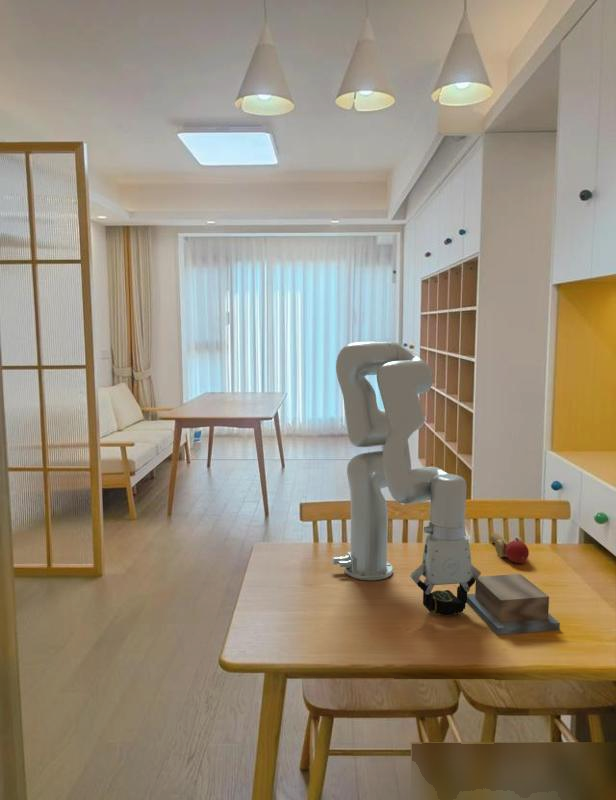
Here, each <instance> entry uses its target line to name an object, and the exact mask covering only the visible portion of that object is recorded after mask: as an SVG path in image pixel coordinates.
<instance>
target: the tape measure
mask: <svg viewBox="0 0 616 800" xmlns="http://www.w3.org/2000/svg"><path fill="white" fill-rule="evenodd" d="M431 593H432V594H433V610H432V611H431V612H433V613H435V614H438V615H440V616H446V617H447V616H454V615H456V614H461V613H463V611H464V604H463V603H462V601H461V600H459V599H458V598H457V595H455V594H454V593H453V592H452V591H451V590H449V589H446V590H435V591H431Z"/></svg>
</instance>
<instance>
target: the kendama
mask: <svg viewBox="0 0 616 800" xmlns="http://www.w3.org/2000/svg"><path fill="white" fill-rule="evenodd" d="M489 541H490V542H491V543H493V544H494V548H495V551H496V554H497V555H498V557H499V558H507V559H508V560H509V561H510V562H512V563H513V564H514V563H515V564H522V563H524V562H525V561H527V560H528V558H529V556H530V555H529V554H530V553H529V552H530V551H529V548H528V546H527V545H526V543H524V540H523V539H522V537H515V538H514V539H513V540H511V541H509V542H508V541H507V540H506V539H505V538H504V537H503V536H501V535H500V534H498V533H495V532H494V533H491V535H490V538H489Z"/></svg>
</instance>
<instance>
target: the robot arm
mask: <svg viewBox="0 0 616 800" xmlns="http://www.w3.org/2000/svg"><path fill="white" fill-rule="evenodd" d="M335 370H336V371H335V372H336V376H337V377H336V378H337V381H338V385H339V387H340V390H341V393H342V398H343V399H342V400H343V406H344V414H345V422H346V427H347V429H346V430H347V435H348V439H349V441H350V443H351V445H353V446H354V447H356V448H370V447H371V448H372V447H378V446H379V447H380V446H381V449H382V450H376V451H370V452H363V453H362V452H361V453H360V454H357V455H355V456H354V457H352V458H351V459H349V462H348V464H347V468H346V475H347V479H348V480H347V481H348V486H349V487H348V488H349V492H350V493H349V494H350V551H347V554H346V555H343V556H333V557H332V565H333V566H334V565H335V566H336V565H338V566H339V568H344V572H345V574H346V575H348V576H349V577H351V578H354V579H357V580H361V581H379V580H380V581H381V580H384V579H387V578H389V577H390V576H391V575H392V574H393V572H394V569H393V565H392V564H390V563H389V562H388V511H389V510H388V509H389V508H388V503H387V501H386V499H385V496H384V495H383V493H382V491H381V490H382V489H383V488H388V491H389V493H390V495H391V497H392V498H393V500H395V501H396V502H397V503H398V504H400V505H411V504H415V503H421V502H425V501H426V502H428V501H430V502H429V503H430V505H429V506H430V509H429V511H430V513H429V522H428V525H427V526H423V533H425V534H427V535H426V538H425V543H424V545H423V546H424V547H423V553H422V560H421V561H422V563H421V565H420V566H419V567H417V568H416V569H415V570H414V571H413V572H411V574H410V575H409V576H410V578H411V580H412V581H414V583H415V584H416V585H417V586H418V588H420V590H422V604H423V606H424V607H425V608H426V609H427V611H428V612H429V613H430V612H433V611H432V610H433V594H432V592H433V591H432V590H433V589H434V587H435V586H438V585H440V586H441V585H442V586H443V585H454V584H455V585H457V584H459V585H457V587H456V597H457V598H458V599H459V600H461V601H462V603H463V604H464V609H466V604H468V603H467V594H468V592H469V591H470V590H471V589H470V588H471V587H472V586H473V585H474V584H476V580H477V578H478V577H481V574H482V572H481V571H480V569H478V568H477V567H475V566H474V565H473V564H472V555H471V554H472V553H471V546H470V541H469V537H468V536H467V535H466V534H465V532H466V507H467V506H466V505H467V504H466V501H467V499H466V498H467V482H466V479H465V478H464V477H463V476H461V475H458V474H454V473H449V472H447V471H445V470H443V469H442V468H439V467H437V466H425V467H419V468H413V469H412V459H411V453H410V447H409V438H410V437H412V435H413V434H414V433H415V432H416V431H418V430H419V429H421V428H422V427H423V426H424V424H425V421H426V418H425V415H424V412H423V408H422V404H421V401H420V398H419V395H421V394H425V393H428V392H429V391H430V390H431V388H432V386H433V383H434V376H433V372H432V370H431V367H430V366H429V365H428V364H427V362H426V361H424V360H423V359H422V358H421V357H420V356H418V355H417V354H415V353H414V352H412V350H410V349H408V348H407V347H405V346H404V345H402V344H401V343H398V342H395V341H357V342H352V343H348V344H346V345H345V346H343V348H341V350H340V351H339V353H338V355H337V358H336V362H335ZM374 375H375V376H376V381H377V382H376V383H377V387H378V390H379V394H380V397H381V398H380V399H381V401H382V406H383V408H382V409H381V408H380V409H379V407H378V401H377V395H376V391H375V389H374V387H373V385H372V384H371V382H370V381H369V380H368V379H367V378H366V377H367V376H374ZM421 576H423V577H425V578H424V581H422V580H421V579H420V577H421Z"/></svg>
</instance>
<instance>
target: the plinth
mask: <svg viewBox="0 0 616 800" xmlns="http://www.w3.org/2000/svg"><path fill="white" fill-rule="evenodd" d="M474 587H475V588H474V589H475V590H474V593H467V603H466V604H468V605H469V606H470V607H471V609H473V611H475V612H476V614H477V615H478V616H479V617H480V618H481V619H482V620H483V621H484V622H485V623H486V625H487V626H488V627H489V628H490V629H491V630H492V631H493V632H494V633H495V635H497V636H500V635H501V636H502V635H503V636H504V635H513V634H524V633H525V634H526V633H536V632H546V631H559V630H560V629H561V627H560V625H561V622H559V620H557V619H556V618H555V617H554V616H553V615H551V614H550V613H549V610H550V609H549V608H550V607H549V606H550V596H549V595H548V594H546V593H545V591H543V590H541V589H540V588H539V587H538V586H537V585H535V584H534V583H532V582H531V581H530V580H529V579H527V578H526V577H525V576H523V574H521V573H514V574H512V573H511V574H497V575H486V576H483V575H482V576H479V577H478V578H477V580H475V586H474Z"/></svg>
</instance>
